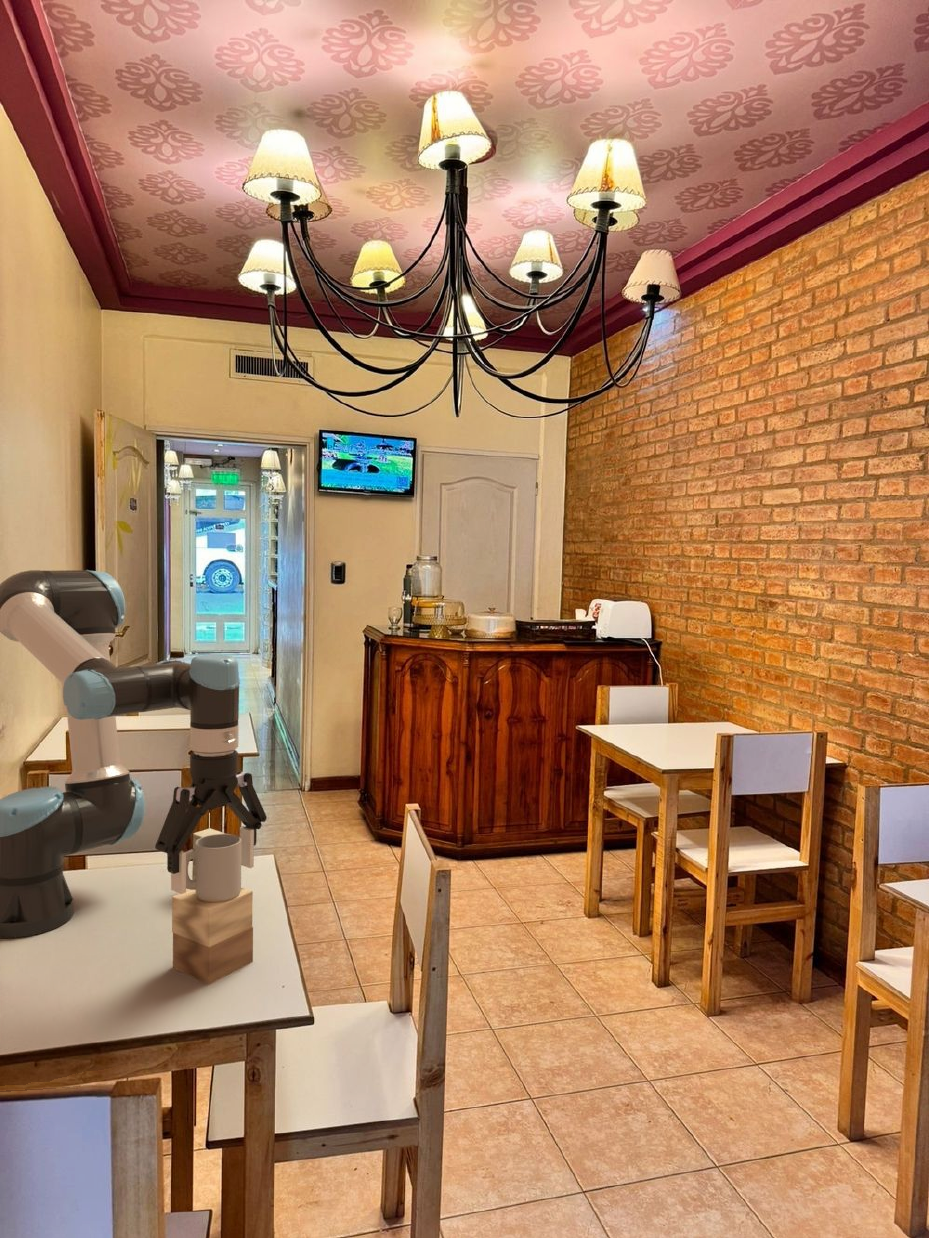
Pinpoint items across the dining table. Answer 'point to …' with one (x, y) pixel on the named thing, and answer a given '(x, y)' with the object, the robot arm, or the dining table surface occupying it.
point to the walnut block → (213, 956)
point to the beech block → (211, 917)
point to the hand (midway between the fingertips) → (213, 878)
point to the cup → (216, 867)
